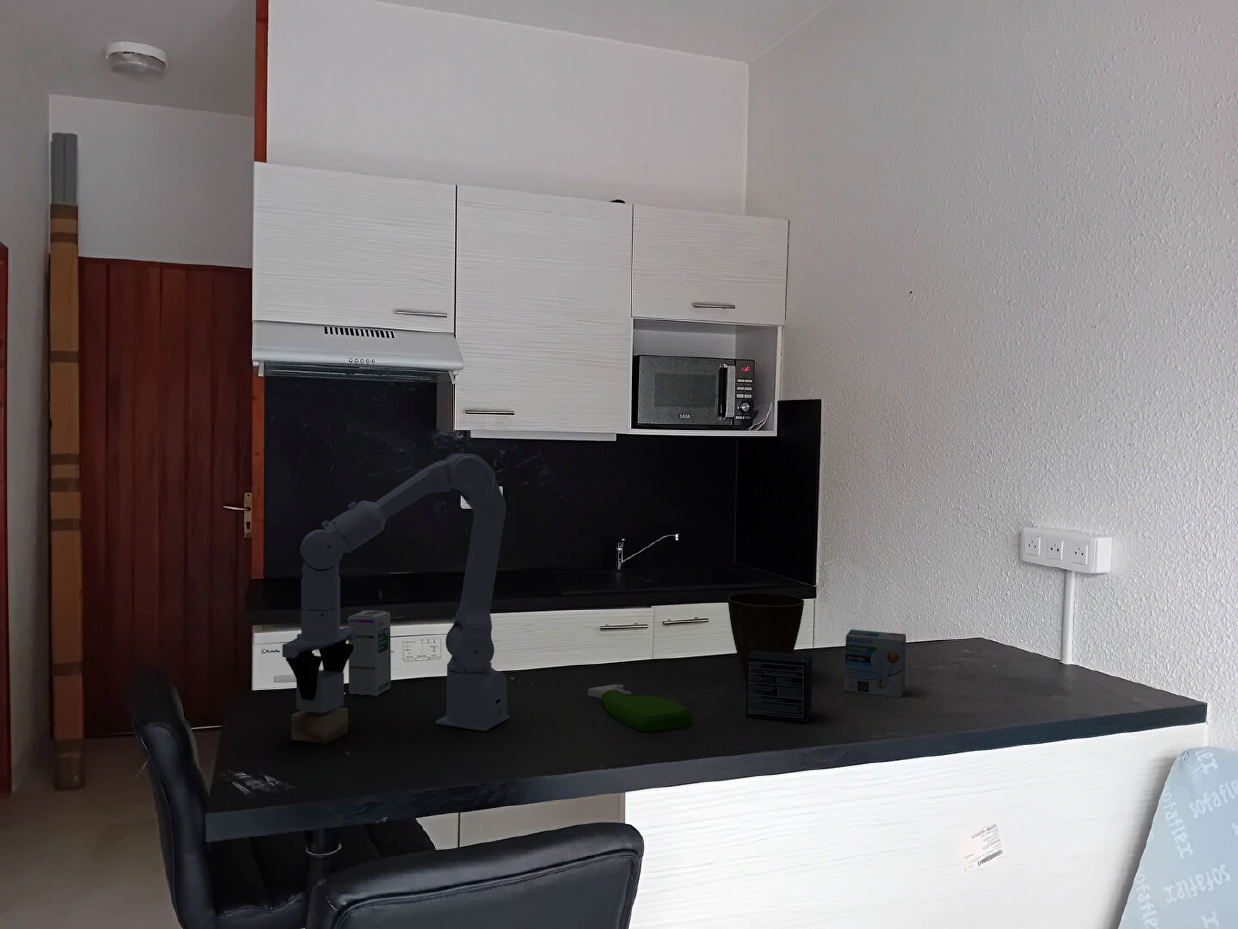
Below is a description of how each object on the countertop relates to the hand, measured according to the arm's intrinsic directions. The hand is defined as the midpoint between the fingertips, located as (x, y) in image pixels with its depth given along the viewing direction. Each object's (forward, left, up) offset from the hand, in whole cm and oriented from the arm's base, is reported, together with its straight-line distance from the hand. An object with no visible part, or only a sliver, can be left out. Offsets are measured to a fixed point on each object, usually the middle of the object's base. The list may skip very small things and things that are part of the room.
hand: (320, 694), depth 144 cm
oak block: (0, 0, -7) cm, 7 cm away
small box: (-63, -41, -7) cm, 75 cm away
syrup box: (+9, -24, -7) cm, 26 cm away
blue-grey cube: (0, 0, -2) cm, 2 cm away
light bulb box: (-76, -65, -7) cm, 100 cm away
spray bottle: (-39, -34, -7) cm, 52 cm away
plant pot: (-55, -64, -7) cm, 85 cm away
